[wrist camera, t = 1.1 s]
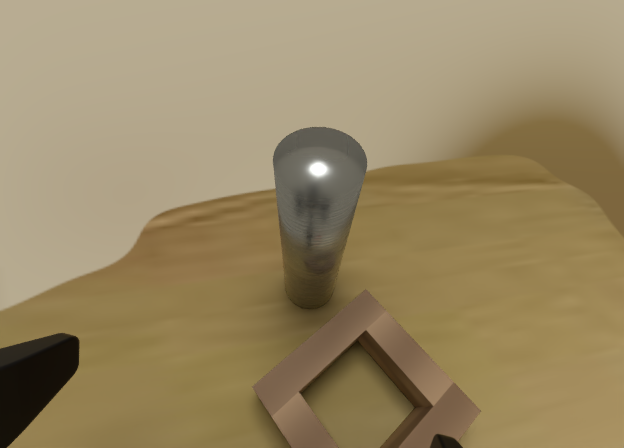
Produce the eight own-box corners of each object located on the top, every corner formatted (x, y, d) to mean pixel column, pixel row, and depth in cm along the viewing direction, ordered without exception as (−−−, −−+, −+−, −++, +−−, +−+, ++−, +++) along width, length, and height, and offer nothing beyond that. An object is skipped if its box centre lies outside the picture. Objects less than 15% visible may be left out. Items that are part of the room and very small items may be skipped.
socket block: (456, 411, 19) (481, 411, 16) (354, 537, 16) (365, 560, 13) (358, 303, 22) (366, 289, 20) (258, 390, 19) (251, 386, 17)
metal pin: (343, 288, 23) (386, 165, 12) (306, 319, 21) (314, 214, 10) (312, 254, 24) (325, 115, 13) (275, 281, 23) (254, 153, 12)
